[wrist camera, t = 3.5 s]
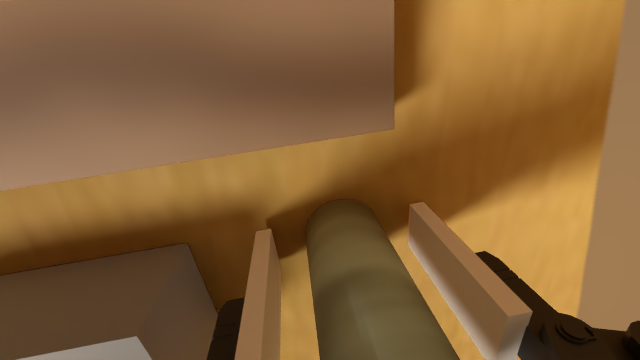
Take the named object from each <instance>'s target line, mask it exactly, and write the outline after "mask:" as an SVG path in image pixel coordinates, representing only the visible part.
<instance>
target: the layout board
mask: <svg viewBox="0 0 640 360" xmlns="http://www.w3.org/2000/svg"><path fill="white" fill-rule="evenodd" d="M392 129H394V0H0V191H2V190H9V189H15V188H21V187H28V186H34V185H40V184H47V183H53V182H60V181H66V180H72V179H79V178H85V177H92V176H98V175H104V174H111V173H117V172H123V171H130V170H136V169H143V168H149V167H155V166H162V165H168V164H175V163H181V162H187V161H194V160H200V159H206V158H213V157H219V156H226V155H232V154H238V153H245V152H251V151H258V150H264V149H270V148H277V147H283V146H289V145H296V144H302V143H309V142H315V141H321V140H328V139H334V138H341V137H347V136H353V135H360V134H366V133H372V132H379V131H385V130H392Z"/></svg>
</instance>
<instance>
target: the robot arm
mask: <svg viewBox="0 0 640 360" xmlns="http://www.w3.org/2000/svg"><path fill="white" fill-rule="evenodd" d="M408 246H409V247H410V249H411V250H412V252H413V253H414V255H415V256H416V258H417V259H418V261H419V262H420V264H421V265H422V267H423V268H424V270H425V271H426V273H427V274H428V276H429V277H430V279H431V280H432V281H433V283H434V284H435V286H436V287H437V289H438V290H439V292H440V293H441V295H442V296H443V298H444V299H445V301H446V302H447V304H448V305H449V307H450V308H451V310H452V311H453V313H454V314H455V316H456V317H457V318H458V320H459V321H460V323H461V324H462V326H463V327H464V329H465V330H466V332H467V333H468V335H469V336H470V338H471V339H472V341H473V342H474V344H475V345H476V347H477V348H478V350H479V351H480V353H481V354H482V355H483V357H484V358H485V360H517V357H518V356H519V357H520V359H521V360H640V321H636V322H632V323H631V324H630V326H629V327H628V329H627V331H616V330H607V329H597V328H592V327H590V326H589V325H588V324H586V323H585V322H583V321H582V320H579V319H577V318H575V317H573V316H571V315H566V314H562V313H558V312H557V311H556V310H554V309H553V308H552V307H551V306H550V305H549V304H548V303H547V302H546V301H544V300H543V299H542V298H541V297H540V296H539V295H538V294H537V293H536V292H535V291H534V290H532V289H531V288H530V287H529V286H528V285H527V284H526V283H525V282H524V281H523V280H522V279H519V278H518V276H517V275H516V274H515V273H514V272H513V271H512V270H510V269H509V268H508V267H507V266H506V265H505V264H504V263H503V262H502V261H501V260H500V259H499V258H497V257H495V256H493V255H491V254H489V253H488V252H486V251H483V252H478V253H474V252H473V251H472V250H471V249H470V248H469V247H468V246H467V245H466V244H465V243H464V242H463V241H462V240H461V239H460V238H459V237H458V236H457V235H456V234H455V233H454V232H453V231H452V230H451V229H450V228H449V227H448V226H447V225H446V224H445V223H444V222H443V221H442V220H441V219H440V218H439V217H438V216H437V215H436V214H435V213H434V212H433V211H432V210H431V209H430V208H429V207H428V206H427V205H426V204H425V203H424V202H420V203H414V204H409V238H408ZM280 318H281V266H280V262H279V258H278V254H277V250H276V246H275V242H274V238H273V234H272V230H271V229H266V230H260V231H256V235H255V241H254V247H253V252H252V258H251V264H250V270H249V276H248V282H247V288H246V294H245V298H240V299H235V300H230V301H226V303H225V304H224V306H223V307H222V309H221V310H220V312H219V313H218V317H217V321H216V325H215V329H214V332H213V336H212V341H211V344H210V348H209V351H208V355H207V359H206V360H280Z"/></svg>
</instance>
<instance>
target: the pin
mask: <svg viewBox="0 0 640 360" xmlns="http://www.w3.org/2000/svg"><path fill="white" fill-rule="evenodd" d="M305 238H306V246H307V254H308V263H309V271H310V279H311V288H312V296H313V305H314V313H315V321H316V330H317V338H318V346H319V355H320V360H460V359H459V357H458V355H457V354H456V352H455V350H454V349H453V347H452V345H451V344H450V342H449V340H448V339H447V337H446V335H445V333H444V332H443V330H442V328H441V327H440V325H439V323H438V322H437V320H436V318H435V316H434V315H433V313H432V311H431V310H430V308H429V306H428V305H427V303H426V301H425V300H424V298H423V296H422V294H421V293H420V291H419V289H418V288H417V286H416V284H415V283H414V281H413V279H412V278H411V276H410V274H409V272H408V271H407V269H406V267H405V266H404V264H403V262H402V261H401V259H400V257H399V256H398V254H397V252H396V250H395V249H394V247H393V245H392V244H391V242H390V240H389V239H388V237H387V235H386V234H385V232H384V230H383V228H382V227H381V225H380V223H379V222H378V220H377V218H376V217H375V215H374V213H373V212H372V210H371V209H370V208H369V207H368V206H366V205H365V204H363V203H362V202H359V201H356V200H352V199H338V200H334V201H331V202H328V203H326V204H324V205H322V206H321V207H319V208H318V209H317V210H316V211H315V212H314V213H313V214H312V215H311V217H310V218H309V220H308V222H307V225H306V229H305Z"/></svg>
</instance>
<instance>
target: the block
mask: <svg viewBox="0 0 640 360" xmlns="http://www.w3.org/2000/svg"><path fill="white" fill-rule="evenodd" d="M217 317H218V314H217V311H216V309H215V307H214V304H213V302H212V300H211V297H210V295H209V293H208V290H207V288H206V286H205V283H204V281H203V279H202V276H201V274H200V272H199V270H198V267H197V265H196V263H195V260H194V258H193V256H192V253H191V251H190V249H189V246H188V244H187V243H183V244H178V245H172V246H166V247H161V248H155V249H149V250H143V251H138V252H132V253H126V254H121V255H115V256H109V257H104V258H98V259H92V260H87V261H81V262H75V263H69V264H64V265H58V266H52V267H47V268H41V269H35V270H30V271H24V272H18V273H12V274H7V275H1V276H0V360H206V359H207V355H208V351H209V348H210V344H211V341H212V336H213V332H214V329H215V325H216V321H217Z"/></svg>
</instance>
